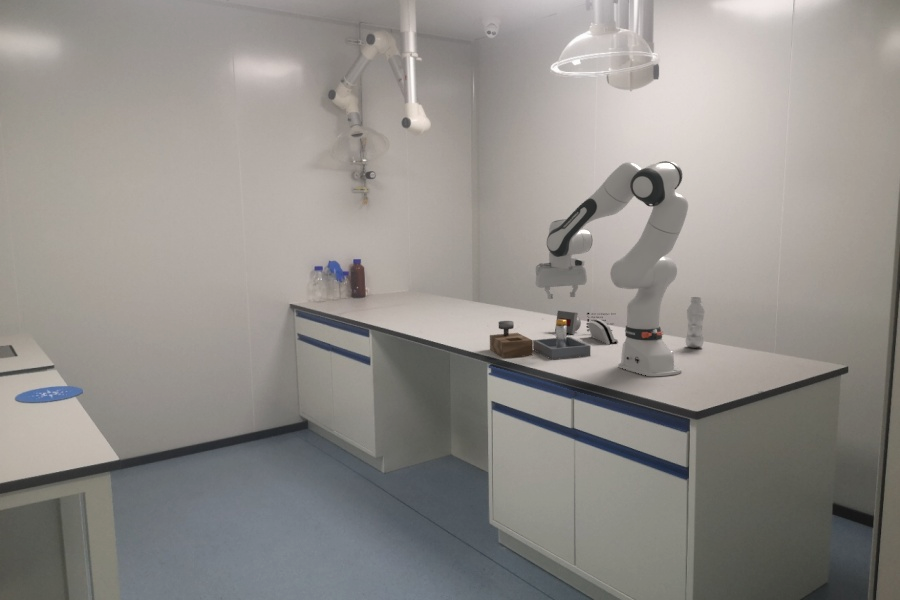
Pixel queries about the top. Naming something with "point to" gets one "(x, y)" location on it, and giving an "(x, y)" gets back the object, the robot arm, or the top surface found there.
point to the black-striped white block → (601, 331)
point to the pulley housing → (510, 342)
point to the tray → (571, 349)
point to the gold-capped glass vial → (561, 333)
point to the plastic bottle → (695, 323)
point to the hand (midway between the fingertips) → (561, 297)
